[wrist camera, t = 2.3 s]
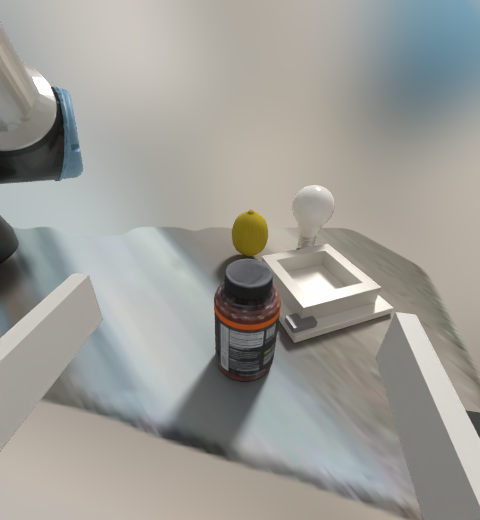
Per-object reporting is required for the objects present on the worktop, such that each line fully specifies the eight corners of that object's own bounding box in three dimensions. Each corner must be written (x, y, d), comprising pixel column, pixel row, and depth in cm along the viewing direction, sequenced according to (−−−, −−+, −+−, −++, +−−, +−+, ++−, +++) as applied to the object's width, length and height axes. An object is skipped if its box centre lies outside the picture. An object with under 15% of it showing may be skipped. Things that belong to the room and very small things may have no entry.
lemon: (229, 248, 48) (230, 203, 44) (262, 247, 49) (266, 202, 45) (233, 267, 44) (234, 219, 39) (269, 265, 44) (274, 218, 40)
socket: (246, 272, 43) (247, 252, 41) (325, 256, 47) (329, 237, 45) (294, 342, 32) (298, 320, 30) (390, 313, 36) (400, 292, 34)
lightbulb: (325, 261, 46) (341, 195, 40) (285, 257, 47) (295, 191, 40) (322, 242, 51) (336, 181, 45) (286, 238, 52) (295, 178, 46)
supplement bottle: (225, 331, 33) (226, 246, 27) (277, 343, 32) (290, 257, 26) (206, 375, 28) (202, 285, 22) (266, 391, 27) (279, 300, 21)
